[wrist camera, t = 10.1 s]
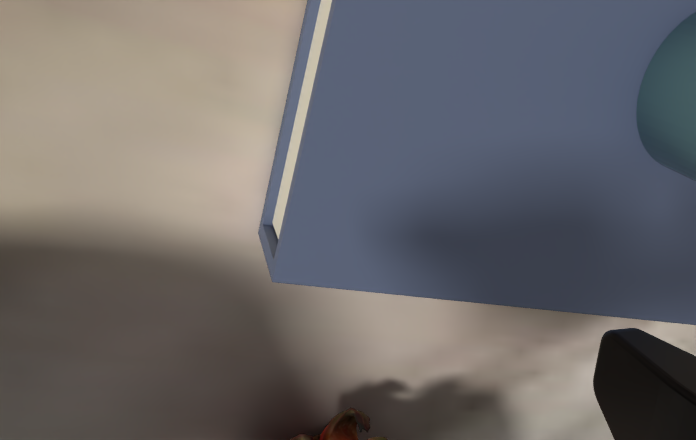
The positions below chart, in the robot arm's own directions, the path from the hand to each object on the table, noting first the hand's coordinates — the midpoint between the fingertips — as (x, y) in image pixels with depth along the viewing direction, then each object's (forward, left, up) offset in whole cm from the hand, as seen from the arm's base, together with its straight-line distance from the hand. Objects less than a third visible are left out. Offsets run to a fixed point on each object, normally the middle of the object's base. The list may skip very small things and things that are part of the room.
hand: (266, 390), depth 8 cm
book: (+3, -10, -13) cm, 16 cm away
